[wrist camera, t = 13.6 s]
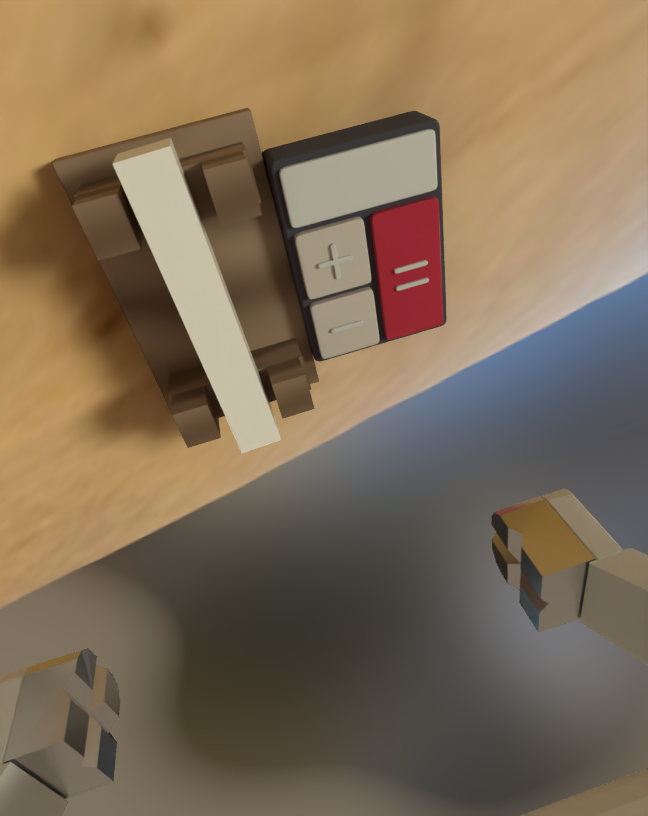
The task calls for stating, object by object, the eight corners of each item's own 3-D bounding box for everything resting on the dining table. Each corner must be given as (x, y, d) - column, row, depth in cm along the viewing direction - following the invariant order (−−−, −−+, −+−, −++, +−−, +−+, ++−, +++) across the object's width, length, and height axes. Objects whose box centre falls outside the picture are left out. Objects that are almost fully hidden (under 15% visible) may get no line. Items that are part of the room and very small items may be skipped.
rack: (56, 158, 32) (31, 182, 26) (247, 107, 33) (262, 120, 27) (177, 414, 44) (177, 468, 38) (315, 372, 44) (335, 419, 39)
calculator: (317, 368, 40) (270, 165, 31) (306, 341, 44) (260, 150, 34) (451, 329, 41) (445, 119, 32) (430, 305, 45) (418, 108, 35)
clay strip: (117, 153, 28) (112, 163, 26) (170, 137, 29) (170, 145, 26) (237, 429, 40) (241, 453, 38) (274, 416, 40) (281, 439, 38)
